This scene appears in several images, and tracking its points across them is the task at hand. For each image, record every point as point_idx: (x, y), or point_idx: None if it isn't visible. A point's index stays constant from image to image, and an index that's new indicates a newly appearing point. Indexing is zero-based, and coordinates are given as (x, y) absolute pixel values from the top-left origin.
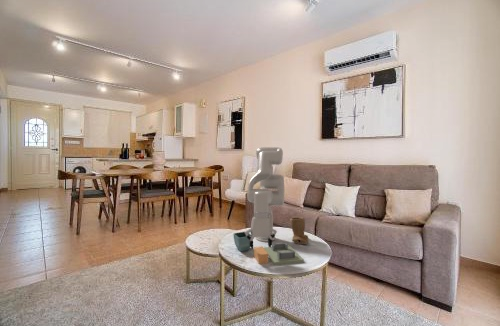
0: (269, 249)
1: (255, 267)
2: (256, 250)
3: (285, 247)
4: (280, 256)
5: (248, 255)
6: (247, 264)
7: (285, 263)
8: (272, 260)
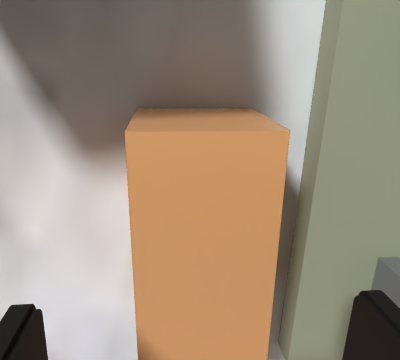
0: (396, 31)
1: (100, 357)
2: (140, 261)
3: None
4: None
5: (66, 76)
6: (28, 298)
7: None
8: (291, 310)
